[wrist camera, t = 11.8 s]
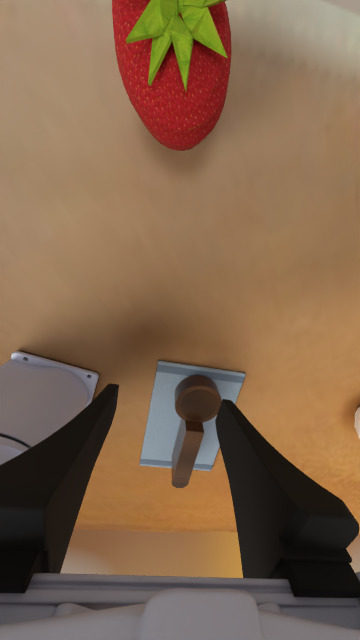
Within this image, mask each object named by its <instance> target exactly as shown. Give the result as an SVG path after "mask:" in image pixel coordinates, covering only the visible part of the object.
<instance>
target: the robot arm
mask: <svg viewBox="0 0 360 640" xmlns="http://www.w3.org/2000/svg"><path fill="white" fill-rule="evenodd" d="M26 357H27V358H28V359H27V358H26ZM89 375H91V376H89ZM98 378H99V375H98V374H97V373H96V372H92V371H89V370H85V369H81V368H78V367H74V366H71V365H67V364H63V363H60V362H56V361H53V360H49V359H45V358H42V357H38V356H35V355H31V354H27V353H24V352H20V351H15V352H13V353H12V355H11V360H10V361H8V362H7V363H5V364H3V365H2V366H0V640H360V572H357V573H354V571H353V569H352V567H351V565H350V564H349V563H351V562H352V559H351V557H350V555H349V554H348V552H347V550H346V548H347V547H348V546H349V544H350V543H351V542H352V541H353V540H354V539H355V538H356V536H357V535H358V533H359V524H358V522H357V521H356V519H355V518H354V516H353V515H352V514H351V512H350V511H349V509H348V508H347V506H346V505H345V504H344V502H343V501H342V500H341V499H340V498H338V497H337V496H335V495H334V494H332V493H331V492H329V491H328V490H326V489H325V488H323V487H322V486H320V485H319V484H317V483H316V482H315V481H313V480H312V479H311V478H309V477H308V476H307V475H305V474H304V473H303V472H301V471H300V470H299V469H298V468H296V467H295V466H294V465H293V464H292V463H290V462H289V461H288V460H287V459H286V458H285V457H283V456H282V455H281V454H280V453H279V452H278V451H277V450H276V449H275V448H274V447H273V446H272V445H270V444H269V443H268V442H267V441H266V440H265V438H264V437H263V436H262V435H261V434H260V433H259V432H258V431H257V430H256V429H255V428H254V427H253V425H252V424H251V423H250V422H249V421H248V420H247V418H246V417H245V416H244V415H243V414H242V412H241V411H240V410H239V409H238V408H237V406H236V405H235V404H234V403H233V402H232V401H231V400H227V399H223V400H222V403H221V405H220V408H219V411H218V414H217V417H216V420H215V424H216V431H217V437H218V441H219V445H220V449H221V452H222V456H223V460H224V463H225V467H226V471H227V475H228V479H229V483H230V489H231V494H232V500H233V506H234V512H235V518H236V525H237V532H238V539H239V546H240V553H241V562H242V571H243V578H213V577H176V576H175V577H174V576H135V575H98V574H60V571H61V568H62V565H63V561H64V558H65V555H66V552H67V548H68V544H69V541H70V538H71V535H72V532H73V529H74V526H75V522H76V519H77V516H78V513H79V510H80V507H81V504H82V501H83V497H84V494H85V491H86V488H87V485H88V482H89V479H90V476H91V473H92V470H93V467H94V465H95V462H96V460H97V457H98V455H99V453H100V450H101V448H102V446H103V443H104V441H105V439H106V436H107V434H108V431H109V429H110V427H111V424H112V421H113V418H114V414H115V411H116V406H117V397H118V389H119V385H117V384H108V385H107V386H106V387H105V388H104V390H103V391H102V392H101V393H100V394H99V395H98V396H97V397H96V398H95V399H94V400H93V401H92V398H93V395H94V391H95V388H96V385H97V381H98Z"/></svg>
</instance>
